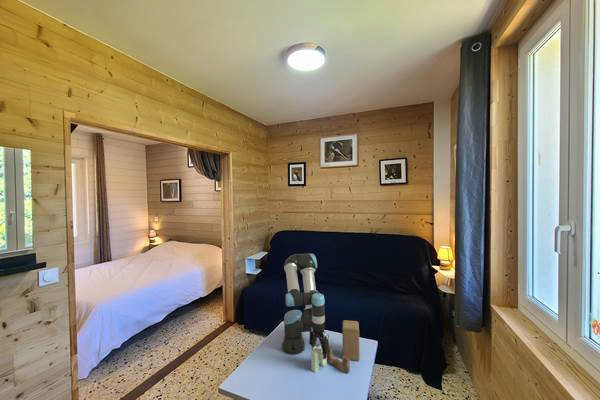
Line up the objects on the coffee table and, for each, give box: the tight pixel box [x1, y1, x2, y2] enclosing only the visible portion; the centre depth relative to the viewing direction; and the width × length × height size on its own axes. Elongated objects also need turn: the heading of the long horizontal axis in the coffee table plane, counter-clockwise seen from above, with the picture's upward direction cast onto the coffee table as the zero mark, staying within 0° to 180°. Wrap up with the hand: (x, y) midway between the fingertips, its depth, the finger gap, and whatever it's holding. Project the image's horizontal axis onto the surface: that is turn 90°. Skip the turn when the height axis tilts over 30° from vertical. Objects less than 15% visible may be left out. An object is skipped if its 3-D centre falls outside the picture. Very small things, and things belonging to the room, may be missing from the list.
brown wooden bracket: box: [327, 346, 351, 375], centre depth 146 cm, size 16×2×8 cm, turn 43°
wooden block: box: [342, 319, 361, 362], centre depth 155 cm, size 10×10×20 cm
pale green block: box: [310, 344, 328, 374], centre depth 145 cm, size 10×3×11 cm, turn 133°
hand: (319, 360), depth 145 cm, fingers open, 6 cm apart
